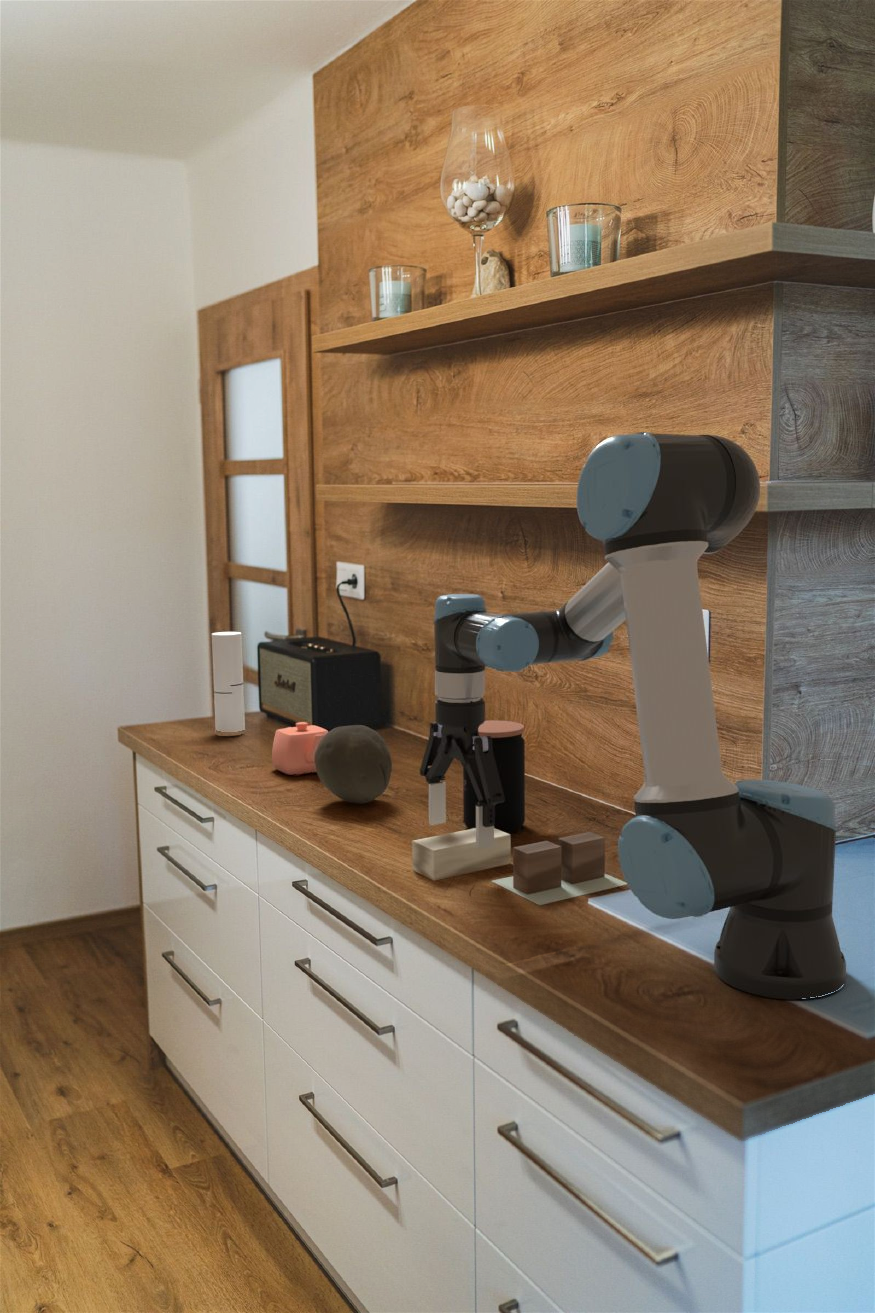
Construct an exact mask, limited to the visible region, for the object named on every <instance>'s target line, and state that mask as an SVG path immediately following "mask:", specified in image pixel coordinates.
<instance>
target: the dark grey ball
mask: <svg viewBox="0 0 875 1313" xmlns="http://www.w3.org/2000/svg"><path fill="white" fill-rule="evenodd" d="M392 764H393V762H392V756H391V753H390V750H389V748H388V746H387V744H386V741H385V740H384V738H383V737H382V736H381V735H380V734H379V732H377V731H376V730H374V729H373V728H370V727H369V726H366V725H362V724H354V725H352V724H351V725H343V726H337V727H334V728H333V729H331V730H330V731H328V733H327V734H326V735H325V736H324V737H323V738H322V739H321V741H320V742H319V745H318V748H317V750H316V752H315V766H316V770H317V772H316V775H317V776H318V778H319V780H320V782H321V783H322V784H323V786H324V787H325V788H326V789H327V790H328V791H330V793H332V794H333V795H334V796H336V797H338V798H339V799H340V800H343V801H345V802H347V803H348V802H349V803H351V804H360V805H363V804H364V805H365V804H367V803H370V802H373V801H374V800H375V799H378V798H379V797H380V796H382V794H384V793H385V791H386V790H387V788H388V786H389V784H390V779H391V774H392V769H393V765H392Z"/></svg>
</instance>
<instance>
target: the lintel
mask: <svg viewBox="0 0 875 1313" xmlns="http://www.w3.org/2000/svg"><path fill="white" fill-rule="evenodd" d="M511 835H512V834H508V833H505V832H503V831H500V830H498V829H495V828H494V846H489V847H484V848H479V849H478V848H476V828H473V829H468V828H467V829H464V830H460V831H454V832H449V833H444V834H439V835H433V836H429V837H425V838H419V839H415V840H412V844H411V845H412V846H411V849H412V851H411V852H412V855H411V856H412V871H414V872H416V873H417V874H419V875H421V876H424V877H426V878H428V879H430V880H432V881H434V882H435V881H438V880H442V879H448V878H452V877H456V876H461V875H465V874H471V873H475V872H480V871H483V870H484V871H485V870H488V869H492V868H496V867H502V866H506V865H510V864H511V863H512V862H511V861H512V860H511V856H512V853H511V851H512V850H511V838H512V836H511Z"/></svg>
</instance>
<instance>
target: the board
mask: <svg viewBox="0 0 875 1313" xmlns="http://www.w3.org/2000/svg"><path fill="white" fill-rule="evenodd" d="M491 882H492V883H493V884H496V885H498V886H500V887H502V888H504V889H506V890H508V891H510V892H512V893H514V894H516V895H518V896H519V897H522V898H524V899H526V900H528V901H530V902H532V903H534V904H536V905H538V906H542V905H547V904H551V903H555V902H559V901H563V900H566V899H572V898H575V897H580V896H584V895H588V894H589V895H590V894H593V893H597V892H602V891H605V890H610V889H614V888H618V887H622V886H628V884H627V882H626V881H623V880H621V879H619V878H617V877H614V876H612V875H609V874H607V873H605V877H602V878H598V879H594V880H589V881H585V882H581V883H576V884H570V883H568V882H566V881H564V880H562V879H561V887H559V888H555V889H550V890H546V891H541V892H537V893H533V894H528V895H527V894H525V893H523V892H521V891H519V890H517V889H515V888H513V875H512V876H508V877H502V878H497V879H493V880H491Z"/></svg>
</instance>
